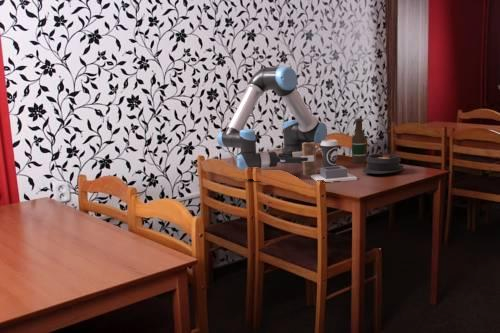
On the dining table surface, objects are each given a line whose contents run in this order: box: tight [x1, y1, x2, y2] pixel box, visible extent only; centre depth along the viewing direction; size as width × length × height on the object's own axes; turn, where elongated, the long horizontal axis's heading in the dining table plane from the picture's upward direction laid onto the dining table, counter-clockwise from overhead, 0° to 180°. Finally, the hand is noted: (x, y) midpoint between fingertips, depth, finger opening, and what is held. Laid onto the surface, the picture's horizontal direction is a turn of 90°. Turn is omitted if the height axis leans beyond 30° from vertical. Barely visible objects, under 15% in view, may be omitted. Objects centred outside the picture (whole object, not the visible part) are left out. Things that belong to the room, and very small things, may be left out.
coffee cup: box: [319, 139, 340, 167], centre depth 284 cm, size 10×10×15 cm
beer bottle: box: [351, 118, 367, 165], centre depth 297 cm, size 8×8×24 cm
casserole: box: [362, 152, 405, 175], centre depth 271 cm, size 25×19×8 cm
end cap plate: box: [310, 165, 358, 183], centre depth 262 cm, size 18×14×5 cm
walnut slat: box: [302, 142, 317, 176], centre depth 274 cm, size 6×3×16 cm, turn 102°
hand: (309, 156), depth 273 cm, fingers open, 13 cm apart
